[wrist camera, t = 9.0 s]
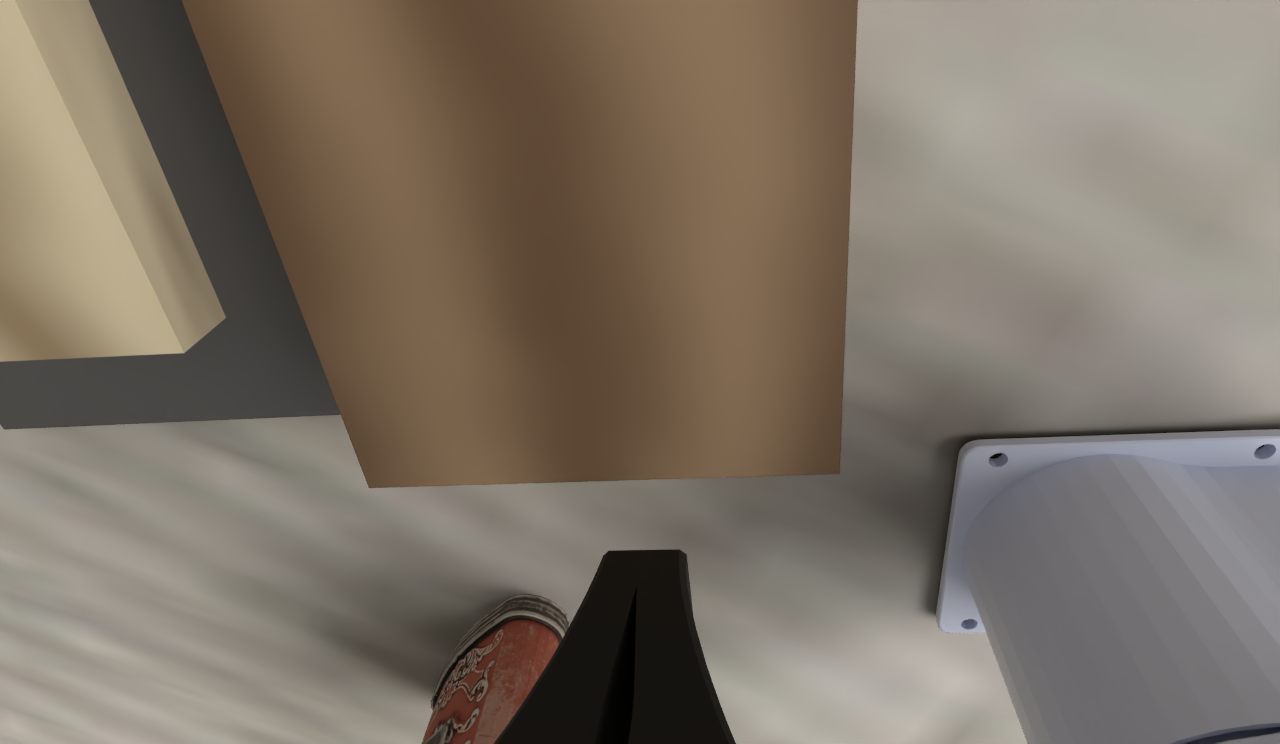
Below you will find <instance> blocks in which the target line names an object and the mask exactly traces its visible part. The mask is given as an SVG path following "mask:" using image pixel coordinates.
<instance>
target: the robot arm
mask: <svg viewBox="0 0 1280 744" xmlns="http://www.w3.org/2000/svg"><path fill="white" fill-rule="evenodd" d="M1262 445H1265V446H1264V447H1262V448H1261V449H1259V450H1256V449H1257V448H1259V447H1260V446H1262ZM997 453H1002V455H1001V456H1000V457H998V458H995V459H990V457H991V456H992V455H994V454H997ZM966 619H968V620H966ZM936 620H937V624H938V627H939V628H940V629H941V630H942V631H944V632H947V633H987V636H988V639H989V641H990V644H991V647H992V649H993V652H994V655H995V657H996V660H997V663H998V665H999V668H1000V671H1001V673H1002V676H1003V679H1004V681H1005V684H1006V687H1007V689H1008V692H1009V695H1010V697H1011V700H1012V703H1013V705H1014V708H1015V711H1016V713H1017V716H1018V719H1019V721H1020V724H1021V727H1022V729H1023V732H1024V735H1025V738H1026V740H1027V743H1028V744H1280V429H1268V430H1240V431H1211V432H1182V433H1154V434H1125V435H1097V436H1068V437H1039V438H1011V439H982V440H974V441H970V442H968V443H966V444H965V445H964V446H963V447H962V448H961V449H960V452H959V455H958V462H957V469H956V476H955V483H954V490H953V497H952V504H951V511H950V519H949V526H948V533H947V540H946V547H945V554H944V561H943V568H942V575H941V582H940V589H939V596H938V604H937V611H936ZM494 744H736V743H735V741H734V738H733V736H732V733H731V731H730V728H729V726H728V724H727V721H726V718H725V716H724V713H723V711H722V708H721V705H720V703H719V700H718V697H717V694H716V691H715V689H714V686H713V683H712V680H711V677H710V674H709V671H708V668H707V665H706V662H705V658H704V655H703V651H702V648H701V644H700V641H699V638H698V634H697V631H696V626H695V622H694V618H693V611H692V601H691V592H690V582H689V573H688V563H687V555H686V554H685V553H684V552H682V551H681V550H627V551H608V552H607V553H606V554H605V555H604V556H603V558H602V560H601V563H600V565H599V567H598V570H597V572H596V574H595V576H594V579H593V581H592V583H591V585H590V587H589V589H588V591H587V594H586V596H585V598H584V600H583V602H582V603H581V605H580V607H579V609H578V611H577V613H576V615H575V617H574V619H573V621H572V622H571V624H570V626H569V628H568V630H567V631H566V633H565V635H564V637H563V639H562V640H561V642H560V644H559V646H558V647H557V649H556V651H555V653H554V654H553V656H552V658H551V659H550V661H549V663H548V664H547V666H546V667H545V669H544V671H543V672H542V674H541V675H540V677H539V678H538V680H537V682H536V683H535V685H534V686H533V688H532V689H531V691H530V693H529V694H528V696H527V697H526V699H525V700H524V702H523V703H522V705H521V706H520V708H519V709H518V711H517V712H516V713H515V715H514V716H513V718H512V719H511V721H510V722H509V723H508V725H507V726H506V728H505V729H504V730H503V732H502V733H501V734H500V736H499V737H498V738H497V740H496V741H495V742H494Z"/></svg>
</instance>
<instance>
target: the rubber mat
mask: <svg viewBox="0 0 1280 744" xmlns="http://www.w3.org/2000/svg"><path fill="white" fill-rule="evenodd" d="M89 2H90V5H91V7H92V9H93V12H94V14H95V16H96V19H97V21H98V23H99V25H100V28H101V30H102V32H103V35H104V37H105V39H106V42H107V44H108V46H109V48H110V51H111V53H112V55H113V58H114V60H115V62H116V65H117V67H118V69H119V72H120V74H121V76H122V78H123V81H124V83H125V85H126V88H127V90H128V92H129V95H130V97H131V99H132V102H133V104H134V106H135V108H136V111H137V113H138V115H139V118H140V120H141V122H142V125H143V127H144V129H145V132H146V134H147V136H148V138H149V141H150V143H151V145H152V148H153V150H154V152H155V155H156V157H157V159H158V162H159V164H160V166H161V168H162V171H163V173H164V175H165V178H166V180H167V182H168V185H169V187H170V189H171V191H172V194H173V196H174V198H175V201H176V203H177V205H178V208H179V210H180V212H181V215H182V217H183V219H184V221H185V224H186V226H187V228H188V231H189V233H190V235H191V238H192V240H193V242H194V245H195V247H196V249H197V251H198V254H199V256H200V258H201V261H202V263H203V265H204V268H205V270H206V272H207V275H208V277H209V279H210V281H211V284H212V286H213V288H214V291H215V293H216V295H217V298H218V300H219V302H220V305H221V307H222V309H223V311H224V314H225V316H226V318H225V319H224V320H223V321H222V322H220V323H219V324H218V325H217V326H216V327H215V328H213V329H212V330H211V331H210V332H209V333H207V334H206V335H205V336H204V337H203V338H202V339H200V340H199V341H198V342H197V343H196V344H194V345H193V346H192V347H191V348H190V349H188V350H187V351H186V352H185V353H176V354H155V355H133V356H112V357H90V358H68V359H47V360H25V361H3V362H0V424H1V426H2V427H3V429H23V428H46V427H69V426H92V425H115V424H138V423H161V422H184V421H207V420H230V419H253V418H276V417H299V416H322V415H341V414H340V411H339V408H338V406H337V403H336V401H335V398H334V395H333V393H332V390H331V388H330V385H329V382H328V380H327V377H326V375H325V372H324V369H323V367H322V364H321V362H320V359H319V356H318V354H317V351H316V349H315V346H314V343H313V341H312V338H311V336H310V333H309V330H308V328H307V325H306V323H305V320H304V317H303V315H302V312H301V310H300V307H299V304H298V302H297V299H296V297H295V294H294V291H293V289H292V286H291V284H290V281H289V278H288V276H287V273H286V271H285V268H284V265H283V263H282V260H281V258H280V255H279V252H278V250H277V247H276V245H275V242H274V239H273V237H272V234H271V232H270V229H269V226H268V224H267V221H266V219H265V216H264V213H263V211H262V208H261V206H260V203H259V200H258V198H257V195H256V192H255V190H254V187H253V185H252V182H251V179H250V177H249V174H248V172H247V169H246V166H245V164H244V161H243V159H242V156H241V153H240V151H239V148H238V146H237V143H236V140H235V138H234V135H233V133H232V130H231V127H230V125H229V122H228V120H227V117H226V114H225V112H224V109H223V107H222V104H221V101H220V99H219V96H218V94H217V91H216V88H215V86H214V83H213V81H212V78H211V75H210V73H209V70H208V68H207V65H206V62H205V60H204V57H203V55H202V52H201V49H200V47H199V44H198V42H197V39H196V36H195V34H194V31H193V29H192V26H191V23H190V21H189V18H188V16H187V13H186V10H185V8H184V5H183V3H182V0H89Z"/></svg>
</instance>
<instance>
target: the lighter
mask: <svg viewBox="0 0 1280 744" xmlns="http://www.w3.org/2000/svg"><path fill="white" fill-rule="evenodd" d="M568 627H569V619H568V617H567V614H566V613H565V612H564V611H563V610H562V608H561V607H560V606H558V605H556V604H555V603H553V602H552V601H550V600H548V599H545V598H542V597H539V596H534V595H527V594H526V595H516V596H513V597H511V598H509V599H507V600H506V601H504V602H503V603H501V604H500V605H499V606H497V607H496V608H495V609H493V610H492V611H491V612H489V613H488V614H487V615H485V616H484V617H482V618H481V619H480V620H479V621H478V622H477V623H476V624H475V625H474V626H473V627H472V628H471V629H470V630H469V631H468V632H467V633H466V634H465V635H464V636H463V637H462V639H461V640H460V642H459V643H458V645H457V646H456V648H455V649H454V651H453V652H452V654H451V655H450V657H449V658H448V660H447V662H446V664H445V666H444V669H443V671H442V674H441V676H440V678H439V681H438V683H437V686H436V689H435V692H434V695H433V697H432V700H431V708H432V710H433V713H432V715H431V718H430V721H429V724H428V727H427V730H426V733H425V736H424V738H423V741H422V744H494V742H495V741H496V740H497V738H498V737H499V736H500V734H501V733H502V732H503V730H504V729H505V728H506V726H507V725H508V723H509V722H510V721H511V719H512V718H513V716H514V715H515V713H516V712H517V711H518V709H519V708H520V706H521V705H522V703H523V702H524V700H525V699H526V697H527V696H528V694H529V693H530V691H531V689H532V688H533V686H534V685H535V683H536V682H537V680H538V678H539V677H540V675H541V674H542V672H543V671H544V669H545V667H546V666H547V664H548V663H549V661H550V659H551V658H552V656H553V654H554V653H555V651H556V649H557V647H558V646H559V644H560V642H561V640H562V639H563V637H564V635H565V633H566V631H567V630H568Z"/></svg>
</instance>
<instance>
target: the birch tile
mask: <svg viewBox="0 0 1280 744" xmlns="http://www.w3.org/2000/svg"><path fill="white" fill-rule="evenodd" d="M225 318H226V316H225V314H224V311H223V309H222V307H221V305H220V302H219V300H218V298H217V295H216V293H215V291H214V288H213V286H212V284H211V281H210V279H209V277H208V275H207V272H206V270H205V268H204V265H203V263H202V261H201V258H200V256H199V254H198V251H197V249H196V247H195V245H194V242H193V240H192V238H191V235H190V233H189V231H188V228H187V226H186V224H185V221H184V219H183V217H182V215H181V212H180V210H179V208H178V205H177V203H176V201H175V198H174V196H173V194H172V191H171V189H170V187H169V185H168V182H167V180H166V178H165V175H164V173H163V171H162V168H161V166H160V164H159V162H158V159H157V157H156V155H155V152H154V150H153V148H152V145H151V143H150V141H149V138H148V136H147V134H146V132H145V129H144V127H143V125H142V122H141V120H140V118H139V115H138V113H137V111H136V108H135V106H134V104H133V102H132V99H131V97H130V95H129V92H128V90H127V88H126V85H125V83H124V81H123V78H122V76H121V74H120V72H119V69H118V67H117V65H116V62H115V60H114V58H113V55H112V53H111V51H110V48H109V46H108V44H107V42H106V39H105V37H104V35H103V32H102V30H101V28H100V25H99V23H98V21H97V19H96V16H95V14H94V12H93V9H92V7H91V5H90V2H89V0H0V362H3V361H25V360H47V359H68V358H90V357H112V356H133V355H155V354H176V353H185V352H186V351H187V350H188V349H190V348H191V347H192V346H193V345H194V344H196V343H197V342H198V341H199V340H200V339H202V338H203V337H204V336H205V335H206V334H207V333H209V332H210V331H211V330H212V329H213V328H215V327H216V326H217V325H218V324H219V323H220V322H222V321H223V320H224V319H225Z"/></svg>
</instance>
